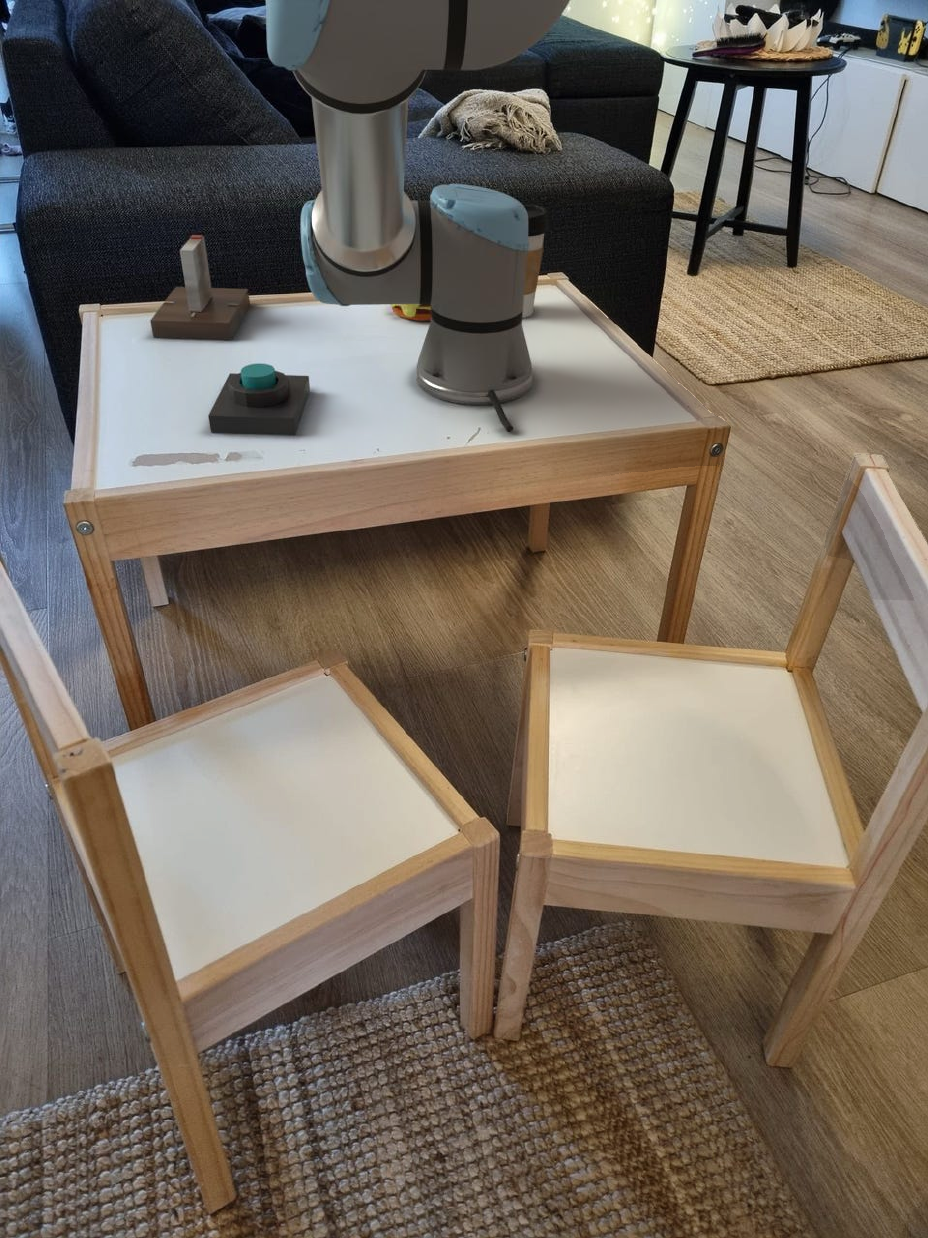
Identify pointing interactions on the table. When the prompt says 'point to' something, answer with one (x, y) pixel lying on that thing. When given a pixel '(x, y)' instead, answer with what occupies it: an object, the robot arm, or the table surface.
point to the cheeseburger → (413, 311)
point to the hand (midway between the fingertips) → (364, 149)
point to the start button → (258, 376)
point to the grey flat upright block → (196, 273)
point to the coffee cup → (533, 254)
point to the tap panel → (201, 315)
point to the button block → (260, 406)
